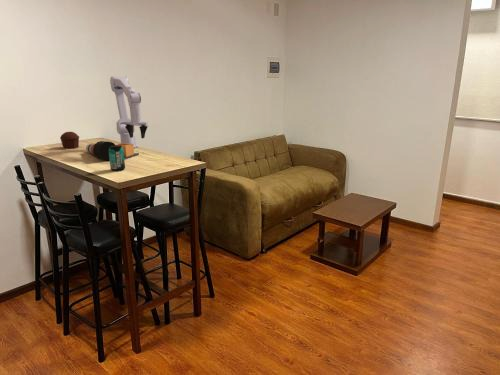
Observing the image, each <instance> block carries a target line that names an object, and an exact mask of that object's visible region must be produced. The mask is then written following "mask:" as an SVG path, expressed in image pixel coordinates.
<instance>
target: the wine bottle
mask: <svg viewBox="0 0 500 375" xmlns="http://www.w3.org/2000/svg"><path fill="white" fill-rule="evenodd" d="M113 145H116V144H115V143H114V142H112V141H105V140H100V141H97V142H96V143H88V144H87V145H86V146H85V150H86V152H87V153H88V154H91V155H94V156H95V157H96V158H97V159H100V160H105V161H110V159H109V148H110V146H113Z"/></svg>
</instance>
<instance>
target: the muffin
mask: <svg viewBox="0 0 500 375" xmlns="http://www.w3.org/2000/svg"><path fill="white" fill-rule="evenodd" d="M59 138H60V139H59V140H60V142H61V145H62V147H63V149H65V150H74V149H79V147H80V146H79V145H80V144H79V143H80V136H79V135H78V134H77V133H76V132H74V131H65V132H64V133H62V134H61V136H60V137H59Z"/></svg>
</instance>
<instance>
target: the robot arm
mask: <svg viewBox="0 0 500 375" xmlns="http://www.w3.org/2000/svg"><path fill="white" fill-rule="evenodd" d="M109 78H110V80H109V83H110V89H111V91H112V92H113V93H114V95H115V100H116V105H117V109H118V115H119V119H118V120H117V121H116V122H115V123H116V132H117V133H118V135H120V144H121V143H128V144H133V146H134V148H135V149H136V148H137V147H138V145H137V141H136V140H137V138H136V135H135V134H134V132H135V131H136V129H135V126H138V128H139V130H140V137H141V139H145V137H146V133H147V129H148V127H149V123H148V122H149V121H148V122H146V121H145V122H144V121H142V116H141V114H142V112H141V103H142V96H141V94H140V92H136V90H135V89H134V88H133V87H132V86H130V85H129V84H130V81H129V80H130V79H129V78H128V76H126V75H125V76H112V75H111V76H110V77H109ZM125 96H126V98H127V102H128V107H129V113H130V117H129V115H128V111H127V105H126V101H125Z"/></svg>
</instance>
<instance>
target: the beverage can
mask: <svg viewBox="0 0 500 375" xmlns="http://www.w3.org/2000/svg"><path fill="white" fill-rule="evenodd" d="M109 159H110V160H109V168H110V170H111V171H112V172H121V171H124V170H125V169H126V162H125V160H126V159H125V160H124V150H123V148H122V146H121V145H117V144H115V145H113V146H110V148H109Z"/></svg>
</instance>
